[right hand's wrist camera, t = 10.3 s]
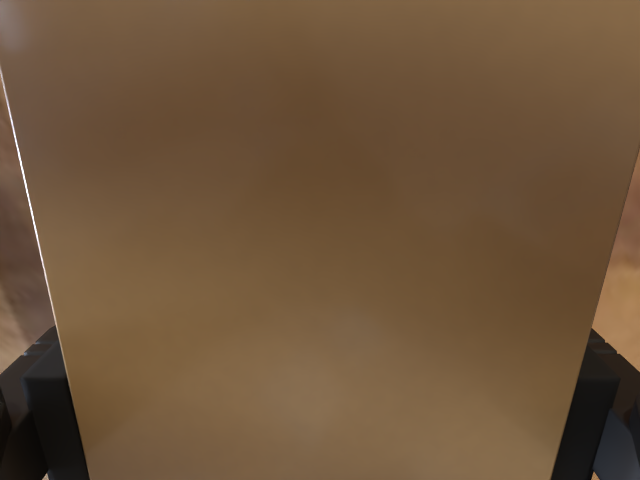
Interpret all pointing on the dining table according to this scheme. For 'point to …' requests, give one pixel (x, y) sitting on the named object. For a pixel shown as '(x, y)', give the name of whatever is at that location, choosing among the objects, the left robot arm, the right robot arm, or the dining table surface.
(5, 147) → the dining table surface
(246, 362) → the wide beam
